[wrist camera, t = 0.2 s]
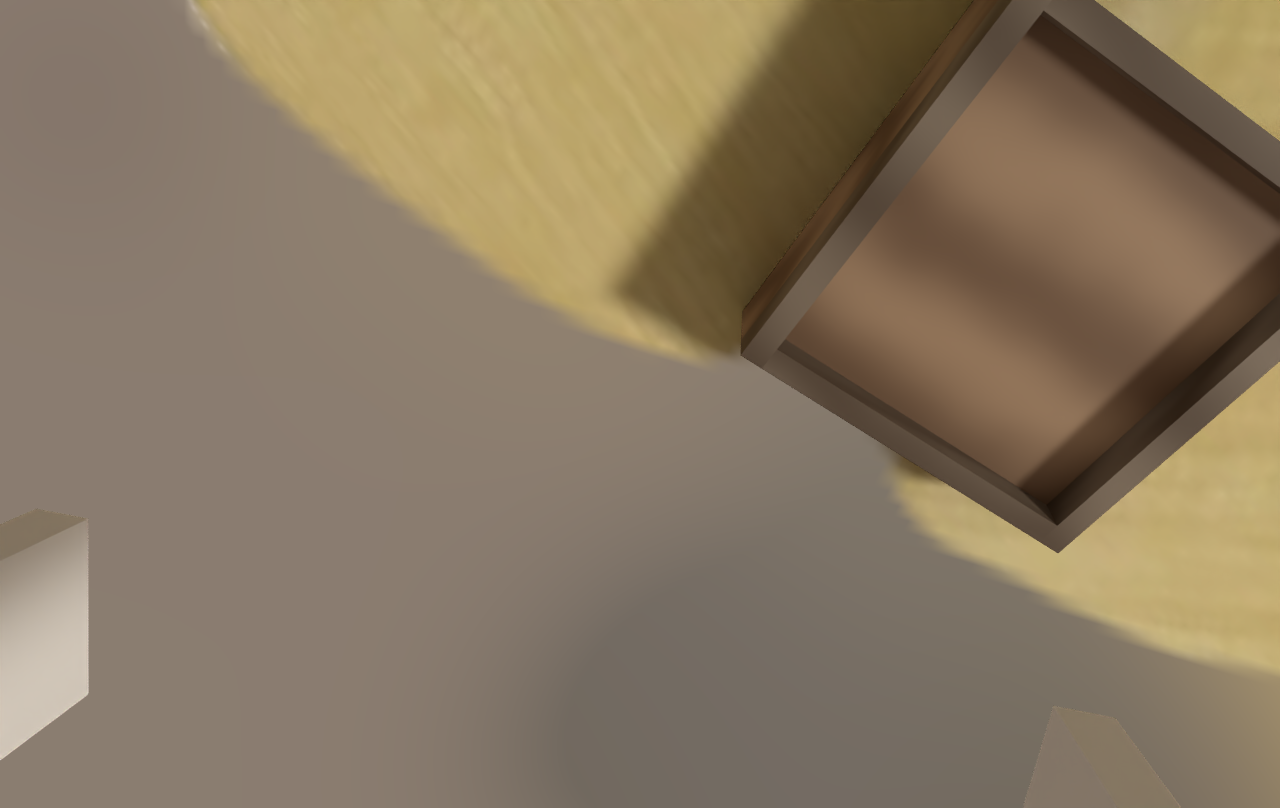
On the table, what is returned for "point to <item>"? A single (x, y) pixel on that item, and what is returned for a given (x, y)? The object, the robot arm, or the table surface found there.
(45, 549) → the robot arm
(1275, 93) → the table surface
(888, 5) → the table surface
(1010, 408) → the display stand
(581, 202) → the table surface
